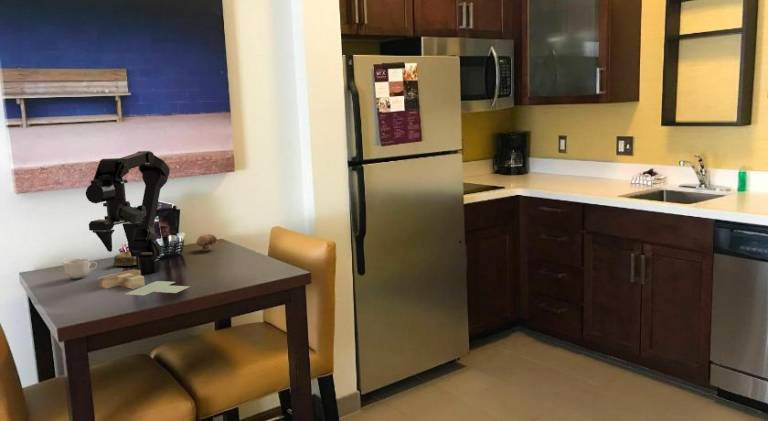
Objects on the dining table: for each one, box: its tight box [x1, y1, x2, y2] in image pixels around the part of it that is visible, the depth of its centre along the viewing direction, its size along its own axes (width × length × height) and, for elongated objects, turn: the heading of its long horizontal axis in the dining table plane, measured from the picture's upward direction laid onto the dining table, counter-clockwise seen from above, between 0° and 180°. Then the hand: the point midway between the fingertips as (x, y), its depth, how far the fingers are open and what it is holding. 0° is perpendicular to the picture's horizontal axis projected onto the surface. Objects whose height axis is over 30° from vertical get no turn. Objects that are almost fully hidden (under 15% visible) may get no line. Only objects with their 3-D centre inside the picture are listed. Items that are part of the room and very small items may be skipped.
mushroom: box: [196, 233, 218, 252], centre depth 240 cm, size 8×8×6 cm
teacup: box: [62, 258, 98, 279], centre depth 205 cm, size 10×8×5 cm
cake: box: [113, 249, 137, 267], centre depth 221 cm, size 10×10×5 cm
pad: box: [124, 280, 191, 296], centre depth 186 cm, size 15×15×1 cm
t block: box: [97, 268, 146, 290], centre depth 192 cm, size 12×12×3 cm
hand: (120, 248), depth 193 cm, fingers open, 9 cm apart
